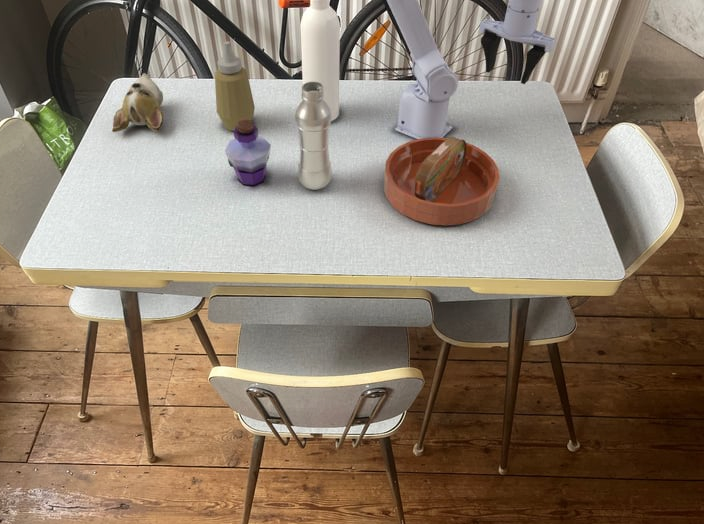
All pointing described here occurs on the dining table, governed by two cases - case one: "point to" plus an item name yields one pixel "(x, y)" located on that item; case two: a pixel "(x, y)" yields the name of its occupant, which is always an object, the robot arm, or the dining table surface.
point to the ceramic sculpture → (140, 106)
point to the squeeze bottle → (232, 90)
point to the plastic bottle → (313, 137)
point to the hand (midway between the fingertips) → (506, 76)
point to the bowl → (456, 200)
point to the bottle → (322, 50)
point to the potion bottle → (248, 154)
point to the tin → (440, 169)
